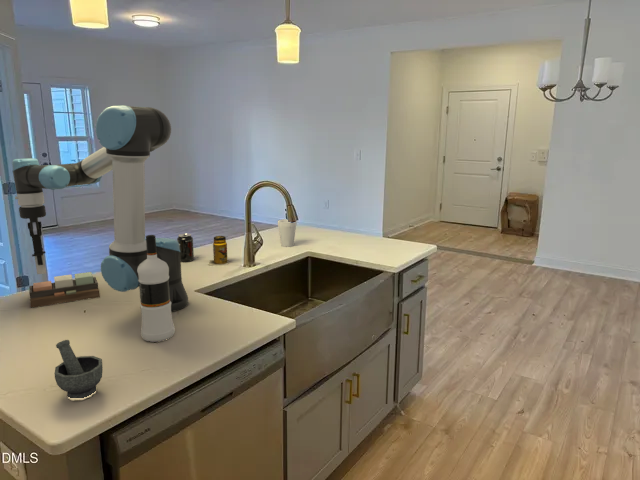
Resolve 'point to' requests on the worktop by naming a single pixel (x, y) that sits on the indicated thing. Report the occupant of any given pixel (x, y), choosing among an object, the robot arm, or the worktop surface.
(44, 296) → the keypad
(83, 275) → the sage key
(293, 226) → the foam cup
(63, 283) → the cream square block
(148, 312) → the vodka
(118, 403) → the worktop surface
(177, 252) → the robot arm
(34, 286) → the terracotta key
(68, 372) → the mortar and pestle
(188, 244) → the beverage can
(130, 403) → the worktop surface
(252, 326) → the worktop surface
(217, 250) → the condiment
